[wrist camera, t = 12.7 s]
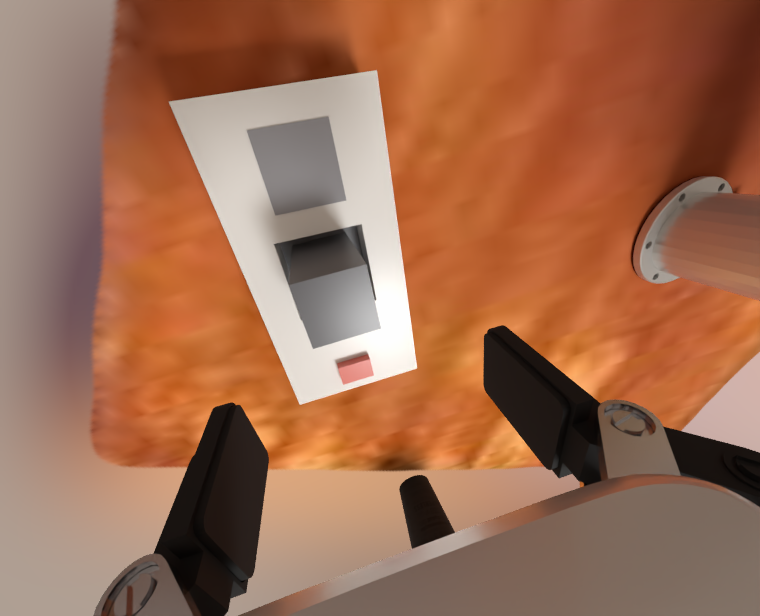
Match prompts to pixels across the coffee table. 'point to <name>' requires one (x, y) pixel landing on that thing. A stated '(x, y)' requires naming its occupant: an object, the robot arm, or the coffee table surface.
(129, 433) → the coffee table surface
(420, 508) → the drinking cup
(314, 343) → the plug
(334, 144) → the power strip
